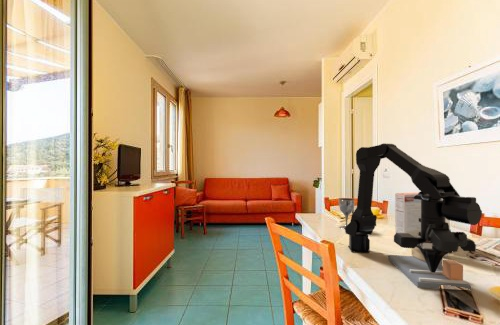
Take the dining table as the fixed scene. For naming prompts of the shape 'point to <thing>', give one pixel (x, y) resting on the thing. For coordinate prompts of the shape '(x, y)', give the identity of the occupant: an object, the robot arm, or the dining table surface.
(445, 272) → the fader
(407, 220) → the cracker box
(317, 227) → the dining table surface
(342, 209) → the wine glass
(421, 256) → the two-tone tan block
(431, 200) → the robot arm
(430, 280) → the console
